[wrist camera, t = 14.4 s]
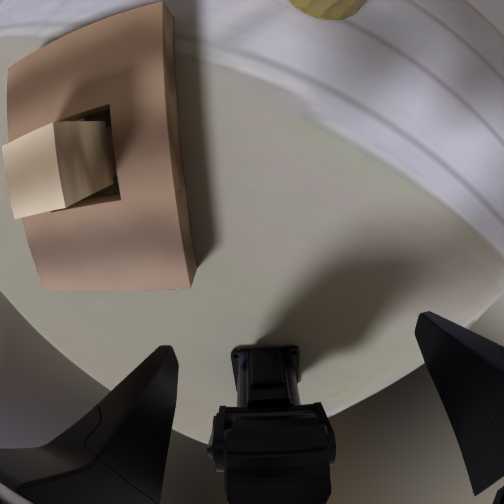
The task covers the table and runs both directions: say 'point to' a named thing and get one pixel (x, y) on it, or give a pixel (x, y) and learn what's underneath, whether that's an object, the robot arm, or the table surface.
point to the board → (125, 150)
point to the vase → (328, 8)
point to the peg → (58, 165)
